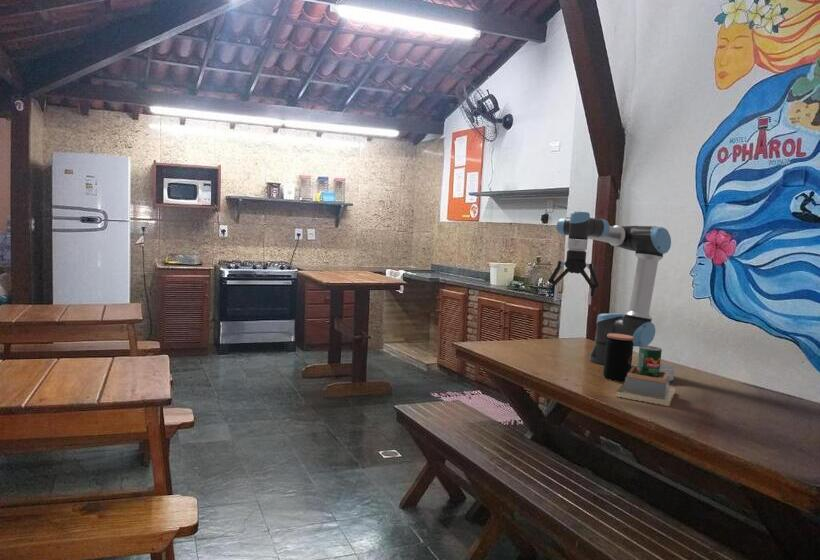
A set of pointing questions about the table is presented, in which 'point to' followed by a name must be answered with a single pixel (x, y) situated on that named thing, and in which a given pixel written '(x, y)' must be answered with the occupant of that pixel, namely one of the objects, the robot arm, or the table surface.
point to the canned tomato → (649, 361)
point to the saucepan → (666, 370)
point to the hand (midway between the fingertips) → (572, 302)
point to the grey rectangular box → (647, 388)
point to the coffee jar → (618, 356)
